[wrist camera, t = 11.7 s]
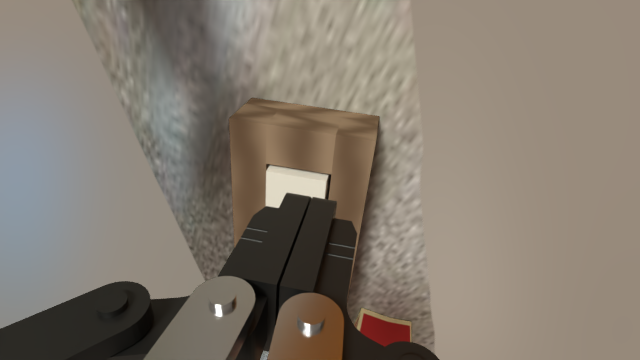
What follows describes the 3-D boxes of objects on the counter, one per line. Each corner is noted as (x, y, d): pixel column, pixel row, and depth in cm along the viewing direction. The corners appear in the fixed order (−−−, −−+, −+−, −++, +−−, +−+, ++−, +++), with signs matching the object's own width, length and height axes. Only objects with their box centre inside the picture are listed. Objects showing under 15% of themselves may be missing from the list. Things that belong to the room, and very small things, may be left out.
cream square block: (276, 200, 43) (265, 220, 39) (277, 153, 40) (266, 171, 36) (327, 209, 42) (320, 230, 39) (332, 162, 39) (326, 181, 36)
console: (253, 280, 55) (237, 315, 50) (251, 97, 41) (228, 118, 35) (346, 299, 54) (340, 337, 48) (379, 116, 39) (376, 141, 34)
